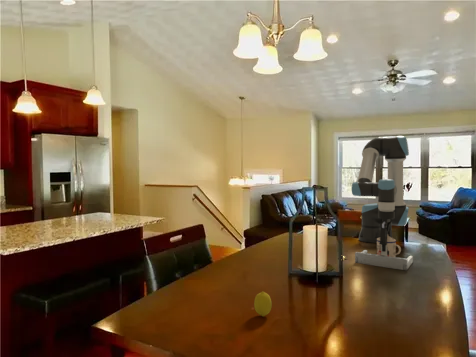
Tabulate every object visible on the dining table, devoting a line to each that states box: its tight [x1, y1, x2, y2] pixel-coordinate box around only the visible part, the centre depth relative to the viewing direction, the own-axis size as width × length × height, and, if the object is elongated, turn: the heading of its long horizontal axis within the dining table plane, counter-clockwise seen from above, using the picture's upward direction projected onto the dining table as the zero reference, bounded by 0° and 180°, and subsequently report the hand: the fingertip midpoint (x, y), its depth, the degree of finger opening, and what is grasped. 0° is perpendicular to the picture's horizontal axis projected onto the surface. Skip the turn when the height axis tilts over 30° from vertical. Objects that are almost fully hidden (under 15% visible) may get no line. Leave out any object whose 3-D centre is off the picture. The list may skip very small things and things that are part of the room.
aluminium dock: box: [354, 249, 414, 271], centre depth 167 cm, size 16×23×5 cm
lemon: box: [253, 291, 272, 318], centre depth 108 cm, size 6×6×8 cm
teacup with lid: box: [376, 235, 402, 257], centre depth 170 cm, size 12×9×12 cm
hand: (386, 255), depth 171 cm, fingers closed on teacup with lid, 7 cm apart
